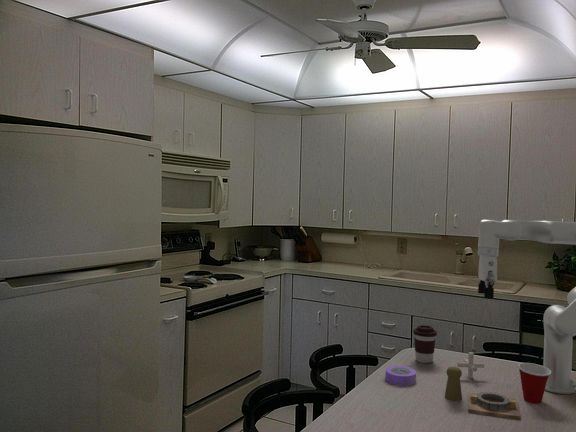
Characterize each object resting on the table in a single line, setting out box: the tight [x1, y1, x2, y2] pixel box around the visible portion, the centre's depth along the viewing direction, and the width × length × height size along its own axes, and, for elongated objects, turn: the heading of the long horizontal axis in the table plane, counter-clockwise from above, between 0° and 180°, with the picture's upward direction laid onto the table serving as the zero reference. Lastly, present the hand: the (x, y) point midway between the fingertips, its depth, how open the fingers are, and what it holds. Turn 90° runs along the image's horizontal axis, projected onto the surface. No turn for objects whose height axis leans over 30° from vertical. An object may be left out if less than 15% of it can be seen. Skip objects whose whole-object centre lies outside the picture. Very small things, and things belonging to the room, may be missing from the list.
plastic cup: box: [517, 362, 551, 405], centre depth 184 cm, size 11×11×12 cm
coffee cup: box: [413, 324, 438, 364], centre depth 227 cm, size 10×10×15 cm
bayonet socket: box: [467, 391, 521, 420], centre depth 178 cm, size 16×16×3 cm
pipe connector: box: [457, 351, 485, 379], centre depth 207 cm, size 10×10×10 cm
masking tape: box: [385, 365, 417, 386], centre depth 203 cm, size 12×12×4 cm
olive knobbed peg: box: [444, 366, 463, 402], centre depth 185 cm, size 6×6×11 cm
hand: (485, 295), depth 200 cm, fingers open, 9 cm apart
